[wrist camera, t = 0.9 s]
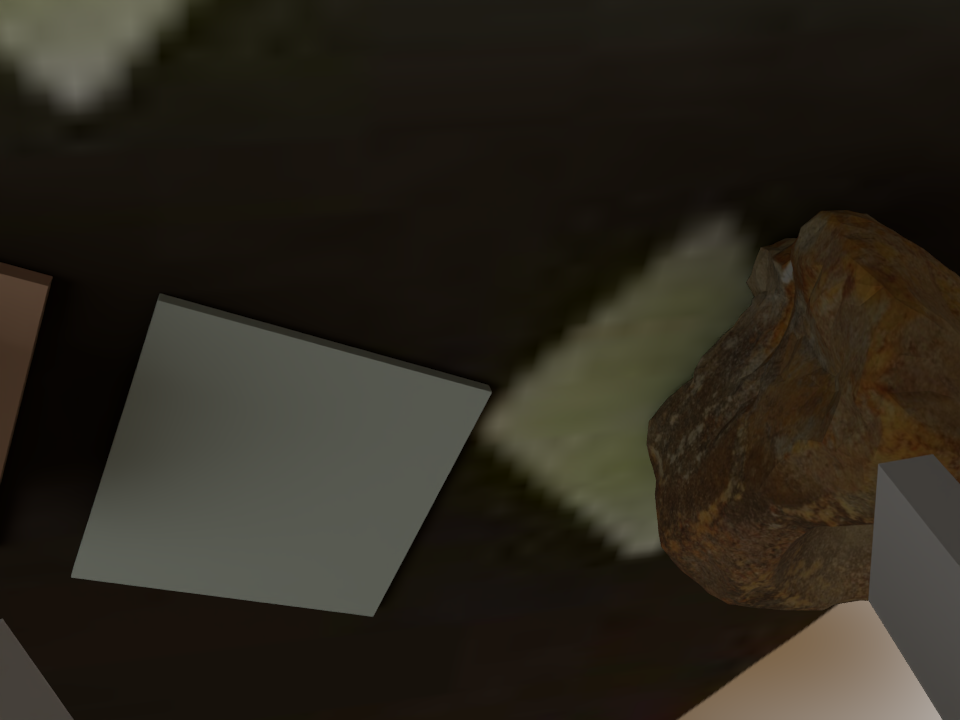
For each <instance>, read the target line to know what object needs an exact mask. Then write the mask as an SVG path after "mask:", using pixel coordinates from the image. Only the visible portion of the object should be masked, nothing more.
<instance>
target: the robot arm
mask: <svg viewBox="0 0 960 720" xmlns="http://www.w3.org/2000/svg"><path fill="white" fill-rule="evenodd" d="M868 600H869V602H870V603H871V605H872V607H873V608H874V610H875V611H876V613H877V615H878V616H879V618H880V619H881V621H882V623H883V624H884V626H885V628H886V629H887V631H888V633H889V634H890V636H891V637H892V639H893V641H894V642H895V644H896V645H897V647H898V649H899V650H900V652H901V653H902V655H903V657H904V658H905V660H906V662H907V663H908V665H909V666H910V668H911V670H912V671H913V673H914V674H915V676H916V678H917V679H918V681H919V682H920V684H921V686H922V687H923V689H924V691H925V692H926V694H927V695H928V697H929V698H930V700H931V702H932V703H933V705H934V707H935V708H936V710H937V711H938V713H939V715H940V716H941V718H942V719H943V720H960V484H959V482H958V481H957V480H956V479H955V478H954V477H953V476H952V475H951V474H950V472H949V471H948V470H947V469H946V468H945V467H944V466H943V465H942V464H941V463H940V461H939V460H938V459H937V458H936V457H935V456H934V455H933V454H931V455H925V456H920V457H914V458H908V459H903V460H897V461H891V462H886V463H880V464H878V474H877V488H876V502H875V515H874V529H873V543H872V556H871V570H870V584H869V598H868ZM0 720H73V718H72V717H71V715H70V714H69V713H68V711H67V710H66V708H65V707H64V705H63V704H62V703H61V701H60V700H59V698H58V697H57V696H56V694H55V693H54V691H53V690H52V688H51V687H50V686H49V684H48V683H47V681H46V680H45V678H44V677H43V676H42V674H41V673H40V671H39V670H38V669H37V667H36V666H35V664H34V663H33V661H32V660H31V659H30V657H29V656H28V654H27V653H26V651H25V650H24V649H23V647H22V646H21V644H20V643H19V641H18V640H17V639H16V637H15V636H14V634H13V633H12V632H11V630H10V629H9V627H8V626H7V624H6V623H5V622H4V620H3V619H0Z"/></svg>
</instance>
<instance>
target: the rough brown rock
mask: <svg viewBox="0 0 960 720" xmlns="http://www.w3.org/2000/svg"><path fill="white" fill-rule="evenodd" d="M746 283H747V284H748V286H749V288H750V290H751V291H752V293H753V295H754V298H753V299H752V304H751V306H750V307H749V308H748V309H747V310H746V311H745V312H744V313H743V314H742V315H741V316H740V318H739V319H738V321H737V322H736V323H735V325H734V326H733V327H732V328H731V329H730V330H729V331H727V332H726V333H725V334H724V335H723V336H722V337H721V338H720V339H719V340H718V341H717V342H716V344H715V345H714V346H713V347H712V348H711V349H710V350H709V351H708V352H706V353H705V354H704V355H703V356H702V358H701V359H700V361H699V363H698V365H697V367H696V368H695V371H694V378H692V379H691V380H690V381H688V382H687V383H685V384H684V385H683V386H682V387H681V388H680V389H679V390H677V391H676V392H675V393H674V394H673V395H672V396H670V397H669V398H668V399H667V400H666V401H665V402H664V404H663V405H662V406H661V407H660V408H659V410H658V411H657V412H656V414H655V415H654V416H653V417H652V419H651V420H650V421H649V426H648V435H647V448H648V452H649V457H650V460H651V463H652V466H653V470H654V474H655V477H656V490H655V499H656V510H657V520H658V531H659V537H660V542H661V547H662V548H663V549H664V550H665V552H666V553H667V554H668V555H669V557H670V558H671V559H672V561H673V562H674V563H675V564H676V565H677V566H678V567H679V568H680V569H681V570H682V571H683V572H684V573H685V574H687V575H688V576H689V577H691V578H692V579H693V580H695V581H696V582H697V583H698V584H700V585H701V586H702V587H703V588H704V589H705V590H706V591H707V592H708V593H710V594H711V595H713V596H715V597H717V598H719V599H721V600H722V601H724V602H726V603H728V604H733V605H740V606H747V607H755V608H768V609H778V610H824V609H826V608H828V607H830V606H832V605H834V604H840V603H846V602H852V601H859V600H865V601H866V600H867V601H869V600H868V598H869V584H870V570H871V556H872V543H873V529H874V515H875V502H876V488H877V474H878V464H880V463H886V462H891V461H897V460H903V459H908V458H914V457H920V456H925V455H931V454H933V455H934V456H935V457H936V458H937V459H938V460H939V461H940V463H941V464H942V465H943V466H944V467H945V468H946V469H947V470H948V471H949V472H950V474H951V475H952V476H953V477H954V478H955V479H956V480H957V481H958V482H959V484H960V277H959V276H958V275H957V274H956V273H955V272H953V271H951V270H949V269H948V268H947V267H945V266H944V265H943V264H942V263H940V262H939V261H938V260H937V259H935V258H934V257H933V256H932V255H930V254H929V253H928V252H927V251H926V250H924V249H923V248H921V247H919V246H918V245H916V244H914V243H913V242H911V241H909V240H907V239H906V238H904V237H902V236H901V235H899V234H898V233H897V232H895V231H893V230H892V229H890V228H888V227H886V226H884V225H882V224H881V223H879V222H877V221H876V220H875V219H873V218H872V217H870V216H869V215H868V214H861V213H857V212H852V211H848V210H835V211H821V212H819V213H818V214H817V215H816V216H814V217H813V218H812V219H811V220H809V221H808V222H807V223H806V224H804V225H803V226H802V227H801V229H800V233H799V236H798V237H797V238H786V239H783V240H781V241H779V242H777V243H775V244H773V245H769V246H764V247H761V248H760V251H759V253H758V256H757V258H756V261H755V263H754V267H753V271H752V274H751V276H750V277H749V279H748V280H747V282H746Z"/></svg>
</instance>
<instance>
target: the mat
mask: <svg viewBox="0 0 960 720" xmlns="http://www.w3.org/2000/svg"><path fill="white" fill-rule="evenodd" d="M491 393H492V391H491V389H490V387H489V385H487V384H483V383H480V382H476V381H473V380H469V379H465V378H462V377H458V376H455V375H451V374H447V373H444V372H440V371H437V370H433V369H430V368H426V367H422V366H419V365H415V364H412V363H408V362H404V361H401V360H397V359H394V358H390V357H387V356H383V355H379V354H376V353H372V352H369V351H365V350H361V349H358V348H354V347H351V346H347V345H344V344H340V343H336V342H333V341H329V340H326V339H322V338H318V337H315V336H311V335H308V334H304V333H301V332H297V331H293V330H290V329H286V328H283V327H279V326H275V325H272V324H268V323H265V322H261V321H258V320H254V319H250V318H247V317H243V316H240V315H236V314H232V313H229V312H225V311H222V310H218V309H215V308H211V307H207V306H204V305H200V304H197V303H193V302H189V301H186V300H182V299H179V298H175V297H171V296H168V295H164V294H161V293H160V294H159V297H158V300H157V303H156V307H155V310H154V313H153V316H152V319H151V323H150V326H149V329H148V332H147V335H146V338H145V342H144V345H143V348H142V351H141V354H140V357H139V361H138V364H137V367H136V370H135V373H134V377H133V380H132V383H131V386H130V389H129V392H128V396H127V399H126V402H125V405H124V408H123V412H122V415H121V418H120V421H119V424H118V427H117V431H116V434H115V437H114V440H113V443H112V446H111V450H110V453H109V456H108V459H107V462H106V466H105V469H104V472H103V475H102V478H101V481H100V485H99V488H98V491H97V494H96V497H95V501H94V504H93V507H92V510H91V513H90V516H89V520H88V523H87V526H86V529H85V532H84V535H83V539H82V542H81V545H80V548H79V551H78V555H77V558H76V561H75V564H74V567H73V571H72V575H71V577H72V578H80V579H88V580H96V581H103V582H111V583H119V584H126V585H134V586H142V587H149V588H157V589H165V590H173V591H180V592H188V593H196V594H203V595H211V596H219V597H226V598H234V599H242V600H250V601H257V602H265V603H273V604H280V605H288V606H296V607H303V608H311V609H319V610H327V611H334V612H342V613H350V614H357V615H365V616H374V614H375V612H376V610H377V608H378V606H379V604H380V603H381V601H382V599H383V597H384V595H385V593H386V591H387V589H388V587H389V586H390V584H391V582H392V580H393V578H394V576H395V574H396V572H397V570H398V569H399V567H400V565H401V563H402V561H403V559H404V557H405V555H406V553H407V552H408V550H409V548H410V546H411V544H412V542H413V540H414V538H415V537H416V535H417V533H418V531H419V529H420V527H421V525H422V523H423V521H424V520H425V518H426V516H427V514H428V512H429V510H430V508H431V506H432V504H433V503H434V501H435V499H436V497H437V495H438V493H439V491H440V489H441V488H442V486H443V484H444V482H445V480H446V478H447V476H448V474H449V472H450V471H451V469H452V467H453V465H454V463H455V461H456V459H457V457H458V455H459V454H460V452H461V450H462V448H463V446H464V444H465V442H466V440H467V439H468V437H469V435H470V433H471V431H472V429H473V427H474V425H475V423H476V422H477V420H478V418H479V416H480V414H481V412H482V410H483V408H484V406H485V405H486V403H487V401H488V399H489V397H490V395H491Z"/></svg>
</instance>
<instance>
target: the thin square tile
mask: <svg viewBox="0 0 960 720" xmlns="http://www.w3.org/2000/svg"><path fill="white" fill-rule="evenodd" d="M52 278H53V276H49V275H45V274H42V273H38V272H34V271H31V270H27V269H23V268H20V267H16V266H12V265H9V264H5V263H1V262H0V484H1V480H2V476H3V472H4V468H5V464H6V460H7V457H8V453H9V449H10V445H11V441H12V437H13V433H14V429H15V425H16V421H17V417H18V413H19V409H20V405H21V401H22V397H23V393H24V389H25V385H26V381H27V377H28V373H29V369H30V365H31V361H32V357H33V353H34V350H35V346H36V342H37V338H38V334H39V330H40V326H41V322H42V318H43V314H44V310H45V306H46V302H47V298H48V294H49V290H50V286H51V282H52Z"/></svg>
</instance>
